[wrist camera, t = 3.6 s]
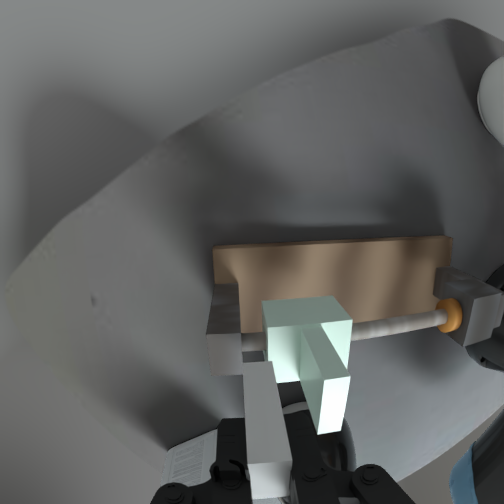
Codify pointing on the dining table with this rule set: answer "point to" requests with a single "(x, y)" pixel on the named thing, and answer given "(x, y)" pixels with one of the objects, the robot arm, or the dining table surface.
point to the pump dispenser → (329, 445)
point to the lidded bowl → (493, 99)
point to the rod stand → (347, 291)
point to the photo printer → (191, 460)
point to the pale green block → (311, 353)
